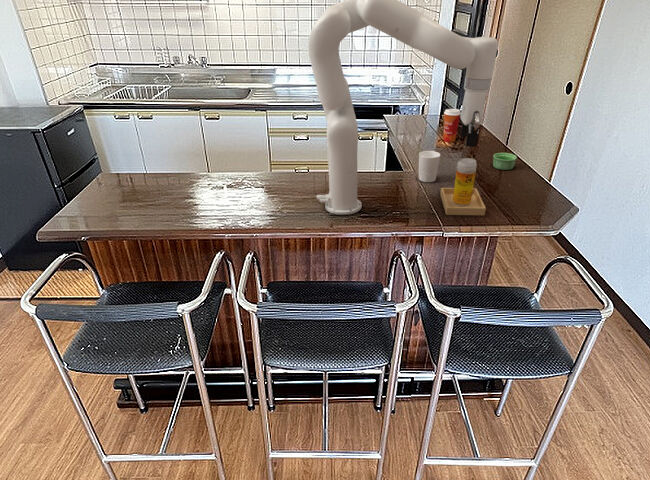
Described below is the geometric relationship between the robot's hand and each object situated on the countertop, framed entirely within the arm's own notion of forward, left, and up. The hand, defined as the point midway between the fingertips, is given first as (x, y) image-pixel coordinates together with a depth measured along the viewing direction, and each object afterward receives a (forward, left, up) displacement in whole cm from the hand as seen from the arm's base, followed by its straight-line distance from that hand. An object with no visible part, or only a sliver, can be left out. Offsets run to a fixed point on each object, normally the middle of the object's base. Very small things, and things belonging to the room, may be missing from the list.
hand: (468, 141), depth 139 cm
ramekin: (+23, +36, -22) cm, 49 cm away
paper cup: (+6, +71, -22) cm, 75 cm away
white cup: (-9, +22, -22) cm, 33 cm away
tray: (+1, 0, -22) cm, 22 cm away
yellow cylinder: (+1, 0, -22) cm, 22 cm away
